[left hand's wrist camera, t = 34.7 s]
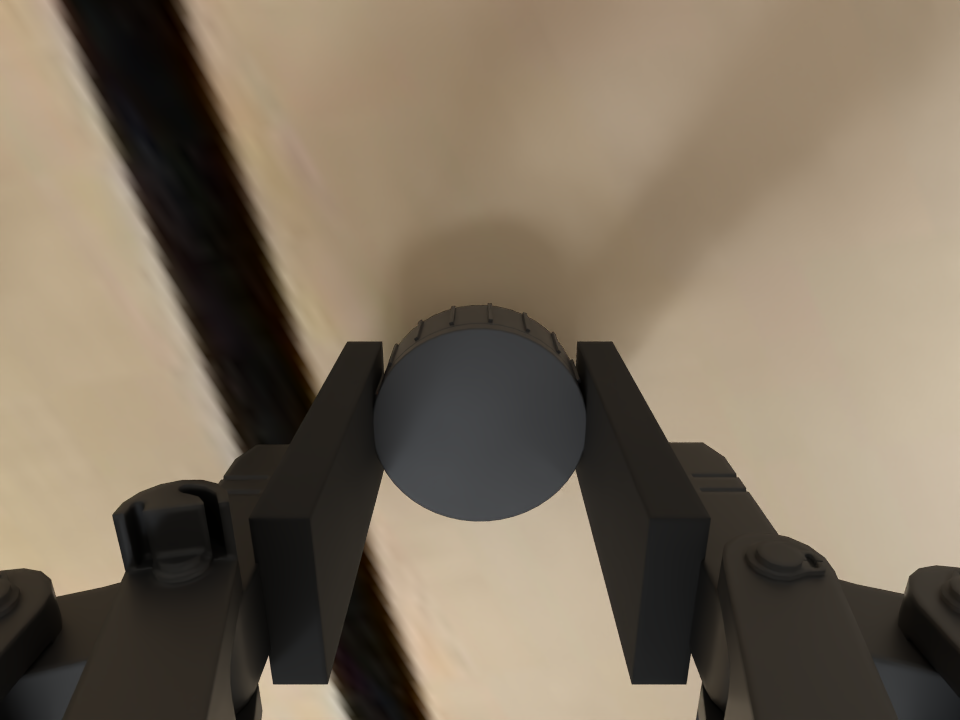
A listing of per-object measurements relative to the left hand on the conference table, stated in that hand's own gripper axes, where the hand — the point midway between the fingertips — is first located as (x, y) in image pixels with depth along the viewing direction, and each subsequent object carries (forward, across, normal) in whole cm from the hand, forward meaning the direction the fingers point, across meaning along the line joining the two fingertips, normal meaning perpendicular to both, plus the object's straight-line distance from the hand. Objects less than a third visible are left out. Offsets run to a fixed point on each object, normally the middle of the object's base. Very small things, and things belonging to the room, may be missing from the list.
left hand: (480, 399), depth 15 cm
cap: (-1, 0, 0) cm, 1 cm away
